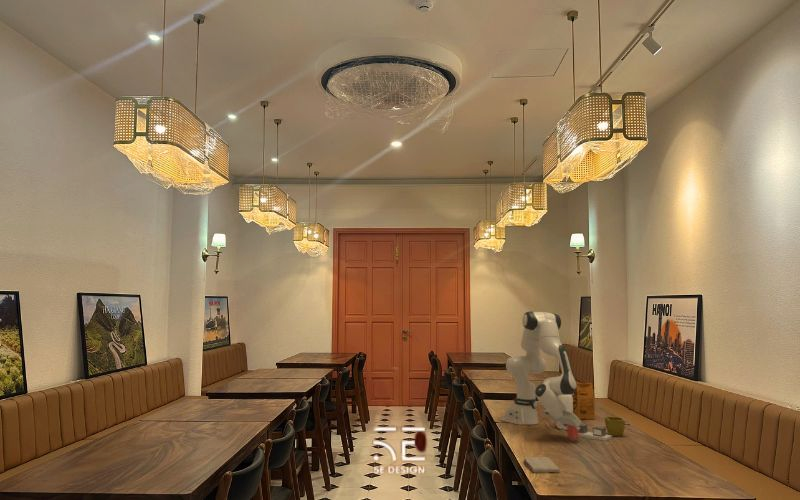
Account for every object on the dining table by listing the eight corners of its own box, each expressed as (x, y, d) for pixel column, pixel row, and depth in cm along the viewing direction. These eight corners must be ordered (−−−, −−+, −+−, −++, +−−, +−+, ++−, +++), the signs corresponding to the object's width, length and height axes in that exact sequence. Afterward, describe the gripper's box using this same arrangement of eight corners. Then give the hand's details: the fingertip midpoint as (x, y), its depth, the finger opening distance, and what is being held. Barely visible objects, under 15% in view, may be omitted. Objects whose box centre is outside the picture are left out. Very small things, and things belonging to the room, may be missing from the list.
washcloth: (547, 462, 251) (547, 455, 251) (561, 474, 233) (560, 466, 233) (521, 462, 250) (521, 455, 250) (532, 474, 232) (532, 467, 233)
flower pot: (621, 433, 306) (620, 416, 307) (626, 437, 297) (625, 420, 298) (604, 433, 307) (604, 416, 308) (608, 436, 298) (608, 419, 299)
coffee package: (571, 416, 351) (570, 381, 353) (590, 416, 351) (590, 381, 353) (576, 420, 341) (575, 383, 343) (596, 420, 341) (595, 383, 343)
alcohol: (571, 427, 321) (570, 374, 324) (574, 430, 312) (573, 376, 315) (555, 426, 322) (555, 373, 324) (558, 430, 313) (557, 375, 316)
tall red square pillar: (572, 438, 293) (572, 423, 294) (567, 437, 296) (567, 421, 297) (578, 438, 294) (578, 422, 295) (573, 436, 298) (572, 421, 299)
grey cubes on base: (569, 434, 301) (568, 424, 302) (574, 432, 308) (574, 422, 308) (606, 441, 289) (606, 430, 289) (611, 438, 295) (611, 427, 295)
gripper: (574, 408, 284) (589, 426, 287) (547, 402, 303) (562, 419, 306) (568, 418, 282) (583, 436, 285) (541, 411, 300) (556, 428, 303)
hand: (572, 427), depth 296 cm, fingers open, 8 cm apart
